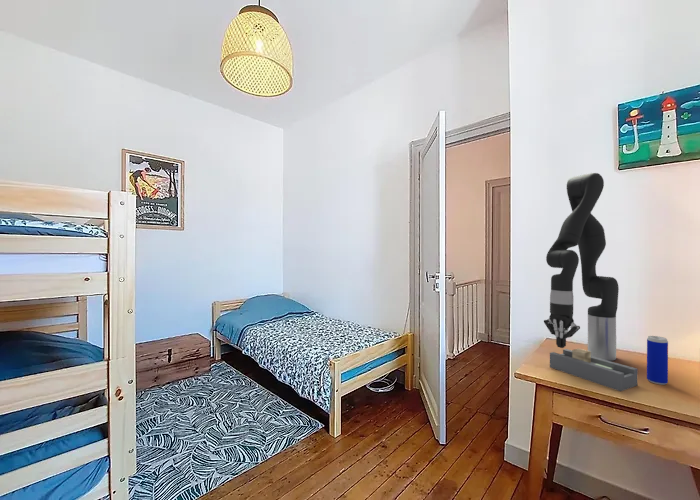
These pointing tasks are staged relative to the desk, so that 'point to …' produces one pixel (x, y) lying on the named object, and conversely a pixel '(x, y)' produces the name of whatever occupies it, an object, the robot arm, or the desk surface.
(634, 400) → the desk surface
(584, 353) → the birch block
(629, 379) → the box
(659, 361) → the blue cylinder
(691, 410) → the desk surface
